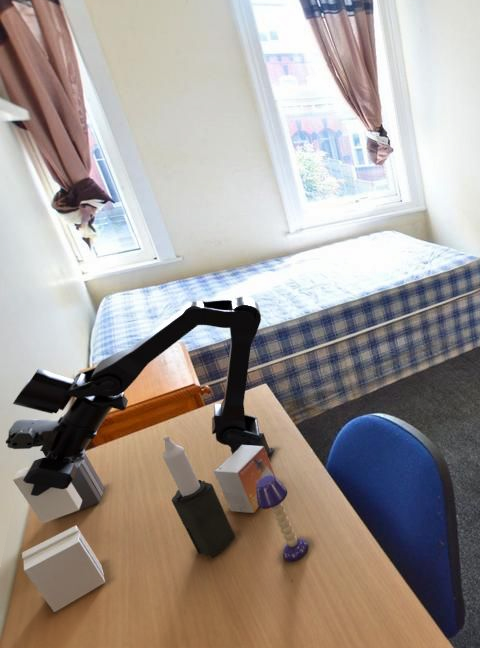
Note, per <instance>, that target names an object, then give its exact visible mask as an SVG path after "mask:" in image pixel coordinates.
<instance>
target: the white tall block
mask: <svg viewBox="0 0 480 648" xmlns="http://www.w3.org/2000/svg"><path fill="white" fill-rule="evenodd" d="M30 467H31V466H27V467H25V468H21V469H18V471H16V473H15V474H14V477H13V479H12V481H13V483H14V484H15V486H16V487H17V488H18V490H19V491H20V493H21V494H22V496H23V497H24V498H25V501H26V502H27V503H28V505H29V506H30V507H31V509H32V511H33V513H34V514H35V515H36V516H37V518H38V519H39V521H40V522H41V524H46V523H48V522H51V521H54V520H56V519H58V518H62V517H64V516H67V515H70V514H72V513H75V512H78V511H80V510H79V509H80V506H81V503H82V499H81V498H80V496H79V494H78V493H77V491H76V489H75V488H74V486H73V485H72V483H70V485H69V486H68V488H66V489H57V488H52V487H51V488H50V489H48V490H46V491H45V492H43V493H42V494H40V495H39V496H33V495H31V492H32V489H33V486H34V484H29V483H25V482H24V481H23V479H24V477H25V475H26V474H27V472H28V470H29V469H30Z"/></svg>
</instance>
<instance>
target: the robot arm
mask: <svg viewBox="0 0 480 648" xmlns="http://www.w3.org/2000/svg"><path fill="white" fill-rule="evenodd" d="M261 322H262V315H261V310H260V307H259V304H258V303H257V301H256V300H255V299H253V298H252V297H248V296H239V297H235V298H234V299H213V300H207V301H206V300H192V301H190V302H187V303H186V304H185V306H184V307H183V308H182V309H180V310H179V311H177V312H176V313H175V314H173V316H171V317H170V318H168V319H167V320H166V321H164V322H163V323H162V324H160V325H159V326H158V327H156V328H155V329H154V330H152V331H151V332H150V333H148V334H147V335H146V336H145V337H143V338H142V339H141V340H140V341H137V343H136V344H134V345H132V346H130V347H128V348H124V349H122V350H120V351H117V352H115V353H114V354H112V355H110V356H108V357H106V358H103V359H102V360H101V361H100V362H99V363H98V364H97V365H96V366H95V367H92V368H90V369H87V370H84V371H82V372H79V373H77V374H76V375H75V377H74V378H73V379H72V378H69V377H66V376H62V375H59V374H55V373H54V372H51V371H50V370H49V371H48V370H46V369H42V368H38V369H37V370H36V371H35V372H34V374H33V376H32V377H31V378H30V379H29V380H28V381H27V383H26V384H25V385H24V387H23V388H22V389H21V391H20V392H19V393H18V395H17V397H16V398H15V399H14V401H13V402H12V405H15V406H19V407H23V408H27V409H31V410H35V411H39V412H42V413H43V412H44V413H47V414H51V415H52V414H58V412H59V411H64V410H65V408H66V407H67V406H68V404H69V402H70V400H71V399H72V398H75V399H74V400H73V402H72V404H71V405H70V406H69V408H68V410H67V411H66V413H64V414H61V416H60V417H59V419H58V420H54V419H53V420H52V419H51V420H50V419H18V420H16V421H15V422H13V424H12V426H10V429H9V430H8V435H7V439H6V440H5V444H7V448H8V449H13V450H28V449H29V450H30V449H32V448H36V447H37V448H39V447H40V450H39V451H40V452H42V453H43V456H44V457H41V458H38V459H35V460H34V461H33V462H32V463H31V466H29V467H30V469H29V470H28V472H27V474H26V475H25V477H24V479H23V481H24V482H25V483H29V484H34V486H33V489H32V492H31V495H33V496H39V495H40V494H42V493H43V492H45V491H46V490H48V489H50V488H51V487H52V488H57V489H66V488H68V486H69V485H70V483H71V482H72V480H73V478H74V476H75V473H76V471H77V467H76V466H75V461H74V460H76V459H77V458H78V457H79V458H81V457H82V455H83V454H84V452H85V451H86V449H87V447H88V445H89V443H90V442H91V440H94V439H95V437H96V436H97V433H98V431H99V428H100V427H101V426H102V424H103V423H104V422H105V421H104V420H105V419H106V418H107V416H108V415H109V413H110V412H111V410H112V409H115V410H119V411H126V409H127V405H128V402H129V400H128V398H127V397H126V396H125V392H126V390H127V389H128V388H129V387H130V386H131V385H132V384H133V383H134V382H135V381H136V379H138V377H139V376H140V375H141V374H142V372H143V371H144V369H145V368H146V367H147V366H148V365H149V364H150V363H151V362H153V361H154V360H155V359H156V358H157V357H159V356H161V354H163V353H164V352H166V351H167V350H168V349H170V348H171V347H172V346H173V345H175V344H176V343H177V342H179V341H180V339H183V337H185V336H186V335H187V334H189V333H190V332H191V331H192V330H194V329H195V328H197V327H198V326H208V327H215V328H221V329H229V331H230V344H229V345H230V347H229V356H228V364H227V372H226V381H225V389H224V397H223V399H222V402H221V403H214V404H213V417H211V435H214V434H215V439H216V441H217V442H218V443H220V444H221V445H224V446H228V447H229V448H230V452H231V455H232V454H233V453H234V452H235V451H237V450H238V449H239V447H240V446H241V445H252V446H264V447H265V450H266V453H267V455H268V458H269V459H270V457H271V456H272V455H273V453H274V451H275V448H274V447H270V446H269V444H268V441H267V437H266V436H265V433H264V432H261V431H260V428H259V422H258V417H256V416H252V415H249V414H246V412H245V396H246V389H247V388H246V387H247V379H248V371H249V364H250V357H251V356H250V355H251V347H252V345H253V341H254V340H255V337H256V336H257V334H258V330H259V327H260V324H261Z"/></svg>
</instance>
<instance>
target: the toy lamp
mask: <svg viewBox="0 0 480 648" xmlns="http://www.w3.org/2000/svg"><path fill="white" fill-rule="evenodd" d="M256 491H257V503H258V506H259V507H258V508H260V509H262V510H269V509H271V513H272V514H273V515H274V518H275V520H276V521H277V525H278V527H279V528H280V532H281V533H282V534H283V538H284V539H285V540H286V544H285V546H284V548H283V551H282V556H283V559H284V561H286V562H295V561H298V560H300V559H301V558H302V557H304V556H305V554H307V552H308V550H309V543H308V541H307V540H306V539H304V538H301V537H297V536H296V533H295V530H293V526H292V524H291V522H290V519H289V517H288V516H287V512H286V511H285V510H284V505H283V504H282V502H284V501H285V499H286V498H287V496H288V489H287V488H286V486H285V485H284V484H283V483H282V482H281V481H280V480H279V479H278V478H277V477H276V475H275V476H273V475H267V476H264V477H262V478H261V479H260V480H259V481H258V482H257V484H256Z"/></svg>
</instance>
